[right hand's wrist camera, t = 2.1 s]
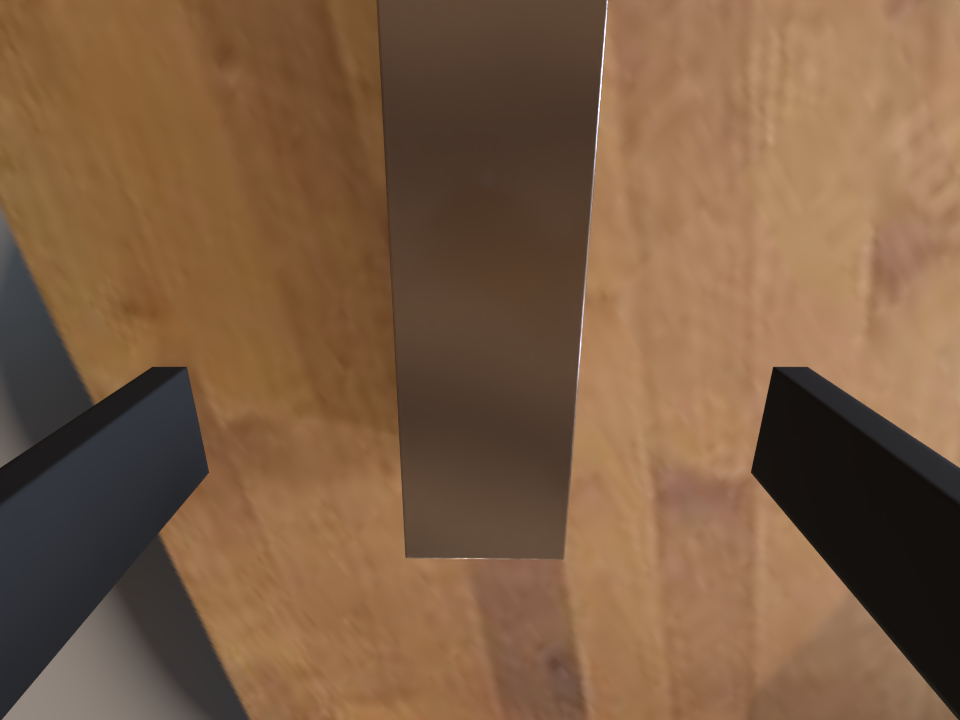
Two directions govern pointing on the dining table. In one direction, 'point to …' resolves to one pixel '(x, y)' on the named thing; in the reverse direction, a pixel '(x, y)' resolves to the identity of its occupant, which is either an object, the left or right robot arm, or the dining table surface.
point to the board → (489, 262)
